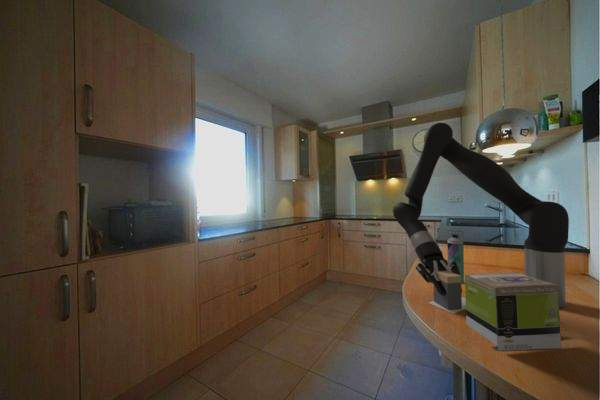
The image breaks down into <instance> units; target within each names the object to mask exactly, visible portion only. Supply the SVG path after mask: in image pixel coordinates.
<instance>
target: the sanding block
mask: <svg viewBox="0 0 600 400" xmlns="http://www.w3.org/2000/svg"><path fill="white" fill-rule="evenodd" d="M437 275H438V277H439V281H441V283H442V285H443V287H444V288H445V290H446V292H447V293H446V294H445V295H444V296H441V294H439V293H438V291H437V289H436V287H435V285H434V284H433V301H434V302H436V303H437V304H439V305H440V306H442V307H444V308H445V309H447V310H457V309H462V298H461V297H462V293H461V288H462V283H461V276H460V275H458V274H455V273H453V272H448V271H439V272H437ZM447 310H446V311H447Z"/></svg>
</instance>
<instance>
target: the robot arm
mask: <svg viewBox="0 0 600 400" xmlns="http://www.w3.org/2000/svg"><path fill="white" fill-rule="evenodd" d="M453 136H454V132H453V128H452V127H451V126H450V124H447V123H446V122H437V123H434V124H432V125H431V126H429V128H428V129H427V130H426V132H425V134H424V137H423V147H422V151H421V153H420V157H419V159H418V161H417V164H416V165H415V168H414V170H413V172H412V174H411V175H410V178H409V180H408V183H407V186H406V187H405V190H404V195H405V197H406V198H407V199H408V203H406V202H401V201H400V202H397V203H396V204H395V205H393V209H392V214H393V216H394V219H395V220H396V222H397V223H398V224H399V225H400V227H402V229H403V230H404V231H405V233H406V234H407V237H408V239H409V240H410V243H411V245H412V247H413V250H414V252H415V254H416V256H417V257H418V259H419V262H418V263H417V265H416V266H415V269H416V271H417V272H418V274H420V276H421V277H422V278H423V279H424V281H425V282H426V283H431V284H432V285H433V286H434V285H435V287H436V289H437V291H438V293H439V294H441V296H444V295H445V294H446V293H447V292H446V290H445V288H444V287H443V285H442V283H441V281H439V277H438V275H437V272H439V271H448V272H453V273H455V274H458V275H460V272H459V269H458V266H457V263H456V262H454V261H453V262H452V263H451V262H448V259H446V258H444V253H443V252H442V249H441V248H440V247H439V245H438V243H437V242H436V240H435V239H434V236H433V235H432V234H431V233H430V232H429V230H428V229H427V226H426V225H425V223H424V222H422V221H421V220H419V219H420V216H421V214H422V208H423V201H424V196H425V194H426V192H427V189H428V188H429V185H430V182H431V179H432V176H433V174H434V171H435V169H436V166H437V163H438V162H439V159H440V157H441V158H443V159H445V160H446V161H447V162H449V163H450V164H451V165H452V166H453V167H454V168H456V169H457V170H458V171H459V172H460V173H461V174H463V175H464V176H465V177H466V178H467V179H469V180H470V181H472V182H473V184H475V185H476V186H478V187H479V188H481V189H482V190H483V191H484V192H486V193H487V194H489V195H491V196H492V197H494V198H495V199H496V200H497V201H500V202H501V203H502V204H504V205H505V206H506V207H507V208H508V209H509V210H511V211H512V212H513V213H514V214H515V215H516V217H518V218H519V219H520V220H521V221H522V222H523V223H524V224H526V225H527V226H528V236H527V238H526V239H525V240H524V242H523V243H524V245H523V247H524V248H523V249H524V275H526V276H529V277H533V278H536V279H539V280H543V281H546V282H549V283H553V284H556V285H558V295H559V309H560V308H561V309H562V308H566V304H567V303H566V246H567V244H568V242H569V230H570V229H569V227H570V219H569V214H568V211H567V209H566V208H565V207H564V206H563V205H562V204H560V203H558V202H554V201H546V200H545V201H544V200H541V199H539V198H537V197H536V196H533V195H532V194H531V193H529V192H528V191H526V190H525V189H523V188H522V187H521V186H520V185H519V184H518V182H516V180H515V178H514V177H513V176H512V175H511V174H510V173H509V172H508V170H506V169H505V168H503V167H502V166H501V165H500V164H498V163H497V162H495V161H494V160H493V159H491V158H490V157H488V156H486V155H484V154H481V153H479V152H476V151H474V150H472V149H469V148H467V147H465V146H464V145H462V144H461V143H460V142H458V141H457V140H456V139H455V138H454V137H453ZM460 276H461V275H460ZM462 293H463V288H462V287H461V294H462Z"/></svg>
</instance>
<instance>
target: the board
mask: <svg viewBox="0 0 600 400" xmlns="http://www.w3.org/2000/svg"><path fill="white" fill-rule="evenodd" d="M461 298H462V309H457V310H447V309H445V308H444V307H442V306H440V305H439V304H437V303H436V302H434V300H432V301H429V302H427V304H430V305H433V306H435V307H437V308H439V309H442V310H445V311H447V312H450V313H452V314H456V313H459V312H462V311H464V310H466V297H463V296H461Z"/></svg>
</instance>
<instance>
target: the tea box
mask: <svg viewBox="0 0 600 400" xmlns="http://www.w3.org/2000/svg"><path fill="white" fill-rule="evenodd" d="M464 289H465V290H464V291H465V293H464V294H465V298H466V309H465V316H466V317H465V318H466V319H465V320H466V322H465V323H466V325H467V326H468V327H470V328H471V329H472V330H474V331H475V332H477V333H478V334H480V335H481V336H482V337H484V338H485V339H486V340H488V341H490V342H491V343H492V344H494V345H495V346H492V347H493V348H494V349H495V350H496V351H500V352H501V351H502V352H503V351H525V350H527V351H528V350H548V349H549V350H550V349H553V350H555V349H562V340H561V338H562V337H561V318H560V308H559V295H558V285H556V284H553V283H549V282H546V281H543V280H539V279H536V278H533V277H529V276H526V275H525V274H523V273H519V272H502V273H501V272H498V273H497V272H496V273H475V274H474V273H472V274H469V273H468V274H464Z"/></svg>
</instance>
